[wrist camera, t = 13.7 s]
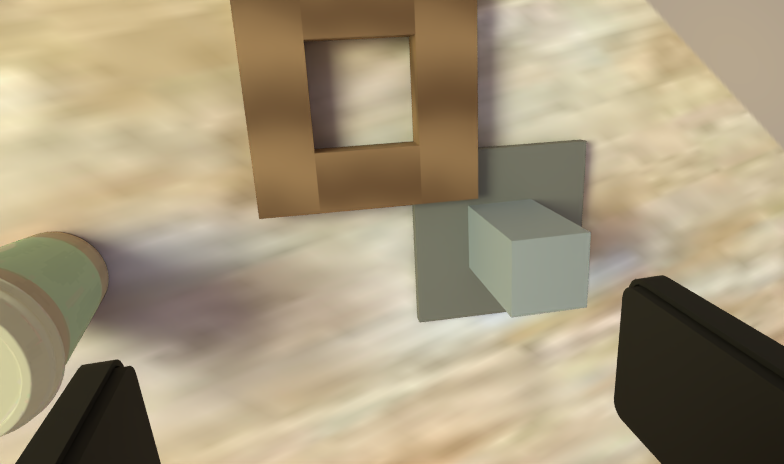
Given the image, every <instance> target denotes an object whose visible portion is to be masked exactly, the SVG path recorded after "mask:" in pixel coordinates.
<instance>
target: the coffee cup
mask: <svg viewBox="0 0 784 464" xmlns="http://www.w3.org/2000/svg"><path fill="white" fill-rule="evenodd" d="M108 281H109V276H108V270H107V267H106V264H105V262H104V260H103V258H102V257H101V255H100V254H99V253H98V251H97V250H96V249H95V248H94V247H93V246H91V245H90V244H89V243H88V242H86V241H84V240H83V239H81V238H79V237H77V236H74V235H71V234H67V233H62V232H45V233H40V234H36V235H33V236H30V237H27V238H25V239H22V240H19V241H16V242H13V243H10V244H7V245H5V246H2V247H0V437H1V436H3V435H6V434H8V433H10V432H12V431H14V430H16V429H18V428H20V427H22V426H23V425H25V424H26V423H28V422H29V421H30V420H32V419H33V418H34V417H35V416H36V415H38V414H39V413H40V412H41V411H43V410H44V409H45V408H46V407H47V406H48V405H49V403H50V402H51V401H52V400H53V398H54V397H55V395H56V393H57V392H58V390H59V388H60V385H61V383H62V380H63V376H64V371H65V365H66V364H67V362H68V360H69V358H70V356H71V355H72V353H73V351H74V349H75V348H76V346H77V344H78V342H79V340H80V339H81V337H82V335H83V333H84V332H85V330H86V328H87V326H88V324H89V323H90V321H91V319H92V317H93V316H94V314H95V312H96V310H97V308H98V306H99V305H100V303H101V301H102V299H103V297H104V295H105V293H106V291H107V288H108Z"/></svg>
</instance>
